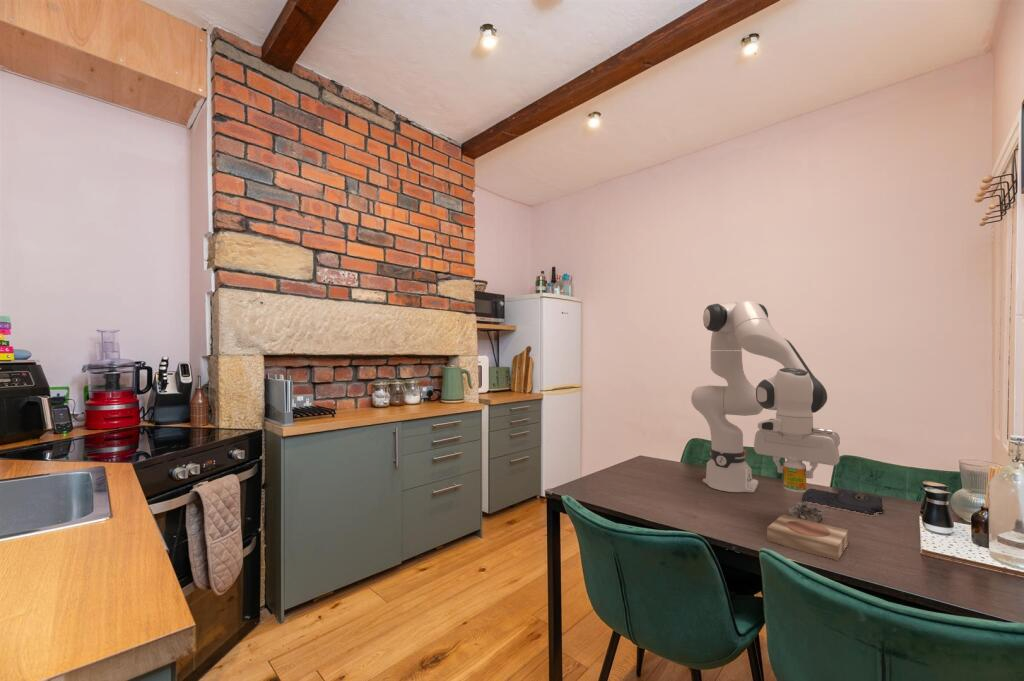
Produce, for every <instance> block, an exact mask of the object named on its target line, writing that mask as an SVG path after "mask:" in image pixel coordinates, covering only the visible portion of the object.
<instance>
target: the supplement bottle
mask: <svg viewBox="0 0 1024 681" xmlns="http://www.w3.org/2000/svg"><path fill="white" fill-rule="evenodd" d="M785 459H786V461H784V462H783V465H782V466H783V472H784V474H783V488H784V490H787V491H789V492H795V493H805V492H806V490H807V478H806V477H805V475H806V474H805V471H807V465H806V464H805V463H804V462H803V461H800V460H797V458H796V456H791V455H789V457H788V458H785Z"/></svg>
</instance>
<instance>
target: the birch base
mask: <svg viewBox="0 0 1024 681" xmlns="http://www.w3.org/2000/svg"><path fill="white" fill-rule="evenodd" d="M766 532H767V533H766V535H767V536H766V539H767V540H768V541H767V540H766V541H767V542H769V541H771V542H770V543H773V542H774V543H773V544H776V543H777V544H776V545H780V544H781V545H780V546H783V545H784V546H785V547H788V548H791V549H794V550H799V551H801V552H805V553H809V554H811V555H816V556H818V557H819V556H820V557H822V556H823V558H825V557H827V558H826V559H829V558H831V559H830V560H832V559H835V560H834V561H836V560H838V559H839V558H840V559H841V557H842V556H841V554H842V553H843V554H844V552H845V551H846V549H847V548H848V546H849V544H850V539H849V538H850V536H849V529H846V528H845V529H844V528H841V527H837V526H836V527H835V526H832V525H828V524H823V523H821V522H817V523H816V522H812V521H807V520H803V519H799V518H795V517H791V515H786V514H781V515H779V517H777V518H776V519H775V520H774V521H773V522H771V524H769V525H768V526H767V527H766ZM848 543H849V544H848ZM847 545H848V546H847ZM846 547H847V548H846ZM845 548H846V549H845ZM844 550H845V551H844ZM843 551H844V552H843ZM843 554H842V555H843ZM840 556H841V557H840ZM840 559H839V560H840ZM839 560H838V561H839Z"/></svg>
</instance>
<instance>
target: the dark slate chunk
mask: <svg viewBox="0 0 1024 681" xmlns="http://www.w3.org/2000/svg"><path fill="white" fill-rule="evenodd" d="M802 500H803V501H805V502H806V501H807V502H812V503H818V504H820V505H827V506H830V507H835V508H841V509H847V510H850V511H856V512H860V513H865V514H869V515H874V513H876V512H882V513H883V511H882V510H884V508H883V506H884V505H883V499H882V497H881V496H876V495H869V494H864V495H863V498H861V495H859V494H858V493H857V492H855V491H854V492H853V491H852V492H851V491H848V490H846V489H845V490H844V489H841V490H838V491H837V492H833V491H828V490H821V489H815V488H808V489H806V492H803V494H802V498H801V501H802ZM803 501H802V502H803ZM882 508H883V509H882Z"/></svg>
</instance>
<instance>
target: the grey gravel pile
mask: <svg viewBox="0 0 1024 681" xmlns="http://www.w3.org/2000/svg"><path fill="white" fill-rule="evenodd" d="M788 511H789V514H790V516H791V517H795V518H799V519H803V520H807V521H812V522H816V523H818V522H817V521H819V522H820V520H821V519H820V518H822V519H823V514H824V510H823V508H822V509H818V508H817V506H812V505H811V504H809V505H808V503H802V502H800V501H798V502H797V503H796V504H795V505H793V506H792V507H791V508H788ZM800 512H804V513H803V515H801V513H800Z"/></svg>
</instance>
